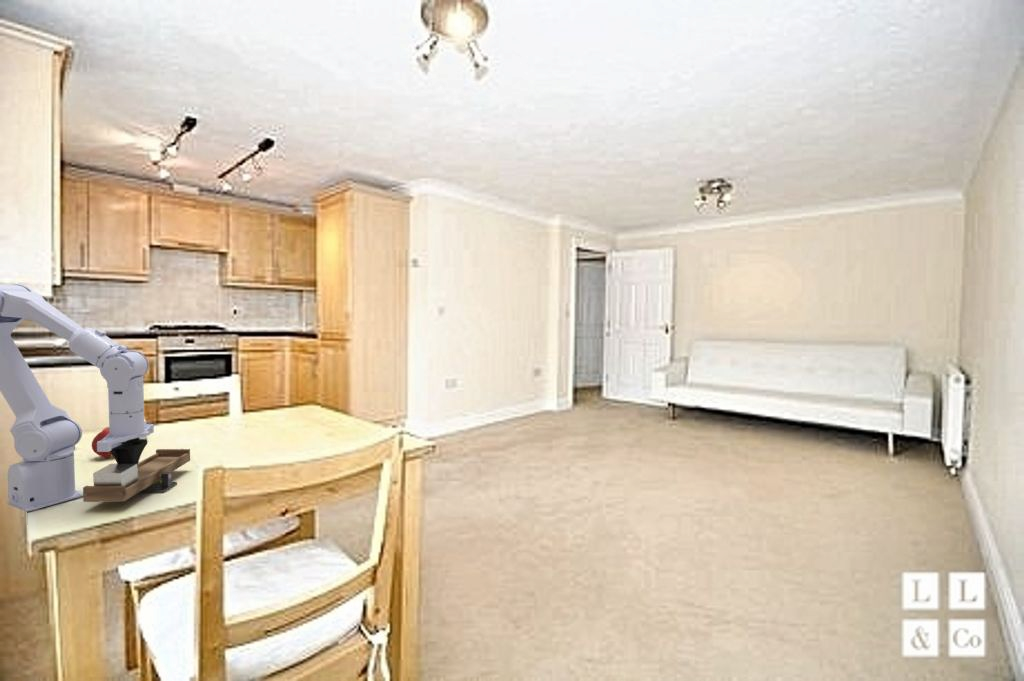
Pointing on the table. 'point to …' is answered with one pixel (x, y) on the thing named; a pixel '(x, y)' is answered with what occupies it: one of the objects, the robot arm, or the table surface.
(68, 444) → the robot arm
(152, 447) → the table surface
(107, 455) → the onion
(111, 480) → the block
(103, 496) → the balance beam
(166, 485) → the beam stand
